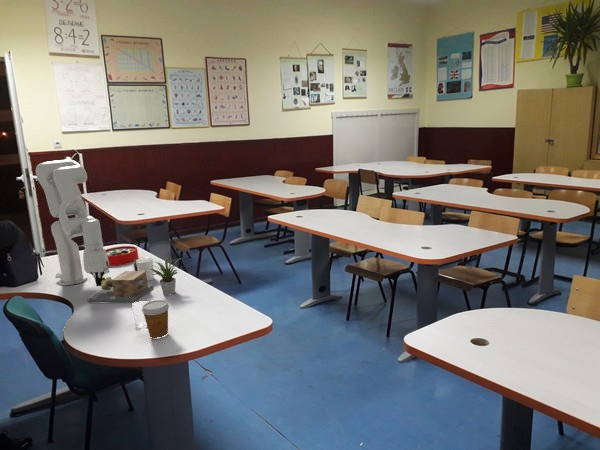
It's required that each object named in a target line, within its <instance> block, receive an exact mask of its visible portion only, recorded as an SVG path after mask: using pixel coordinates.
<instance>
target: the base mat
mask: <svg viewBox="0 0 600 450" xmlns="http://www.w3.org/2000/svg"><path fill="white" fill-rule="evenodd" d="M153 289H154V285H153V284H148V288H146V289H145V290H144V291H142V292H141V293H140V294H139V295H137V296H136V297H114V291H113V287H112V288H111V289H110V290H103V289H101V290H99V291H98V292H97V293H95V294H94V295H91V297H89V298H88V299H87V303H88V302H116V303H115V304H117V302H118V304H119V303H120V304H125V303H126V304H129V303H130V304H133V303H132V302H135V301H137V302H138V301H139V300H140V299H141V298H143V297H144V296H145V295H146V294H148V293H149V292H150V291H152V290H153ZM135 303H136V302H135Z"/></svg>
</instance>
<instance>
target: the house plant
mask: <svg viewBox="0 0 600 450" xmlns="http://www.w3.org/2000/svg"><path fill="white" fill-rule="evenodd" d="M168 259H169V258H168V257H166V258H165V259H164V262H165V263H164V264H163V263H162V262H160V261H159V260H157V261H154V260H153V263H156V264H157V265H158V266H159V267H158V266H156V265H154V264H153V267H156V268H157V269H158V270H157V269H150V270H152V271H154V274H153V275H154V276H155V275H158V277H161V279H160V280H159V283H160V287H161V290H162V294H163V296H164V295H165V296H171V295H170V294H172V295H174V294H175V293H176V285H177V283H176V281H177V279H176V278H175V277H173V276H174V275H177V274H178V273H180V272H177V271H178V269H175V267H176V266H177V264H178V261H180V260H181V259H182V257H181V258H178V259H176V260H174V261H173V260H168ZM168 262H169V263H168ZM172 262H173V264H172ZM164 265H165V266H164ZM171 265H172V266H171ZM173 293H174V294H173Z"/></svg>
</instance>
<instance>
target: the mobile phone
mask: <svg viewBox="0 0 600 450" xmlns="http://www.w3.org/2000/svg"><path fill="white" fill-rule="evenodd" d="M138 259H139V258H138ZM138 259H134V262H132V263H133V268H134V271H138V270H137V264H136V260H138Z"/></svg>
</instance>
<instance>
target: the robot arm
mask: <svg viewBox="0 0 600 450" xmlns="http://www.w3.org/2000/svg"><path fill="white" fill-rule="evenodd" d="M35 175H36V176H35V177H36V178H37V180H38V182H39V184H40V186H41V187H42V189H43V191H44V194H45V198H46V202H47V206H48V209H49V213H50V215H51V216H52V217H53V218H58V220H56V221H54V222H53V223H52V224H51V225H50V230H51V234H52V237H53V240H54V242H55V246H56V251H57V257H58V262H59V268H60V272H57V273H56V274H55V278H56V279H59V283H58V284H59V285H61V286H72V285H78V284H80V283H83V282H85V281H87V279H88V277H87V276H86V275H85V274H83V268H84V271H85V272H86V273H87V274H90V275H91V276H93V279H94V280H95V286H96V287H101V281H102V279H103V278H104V277H105V275H107V274H108V273H110V266H109V261H108V257H107V253H106V251H105V250H106V248H104V242H103V238H102V237H103V236H102V235H103V234H102V229H101V222H100V220H99V219H97V218H95V217H93V216H92V215H88V211H87V208H86V204H85V201H84V200H83V198H82V197H83V196H82V195H83V194H82V192H81V190H80V187H79V185H78V184H84V183H86V182H87V180H88V173H87V172H86V169H85V167H83V166H82V165H81V164H80V163H78V162H77V161H75V160H73V159H60V160H52V161H45V162H40V163H39V164H37V165H36V167H35ZM69 216H75V217H69ZM81 236H82V239H83V243H82V248H84V250H83V256H82V259H83V261H82V260H81V256H80V255H81V254H80V248H79V246H78V244H77V242H75V241H74V240H72V238H73V239H74V238H76V237H81ZM81 262H83V267H82V263H81Z"/></svg>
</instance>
